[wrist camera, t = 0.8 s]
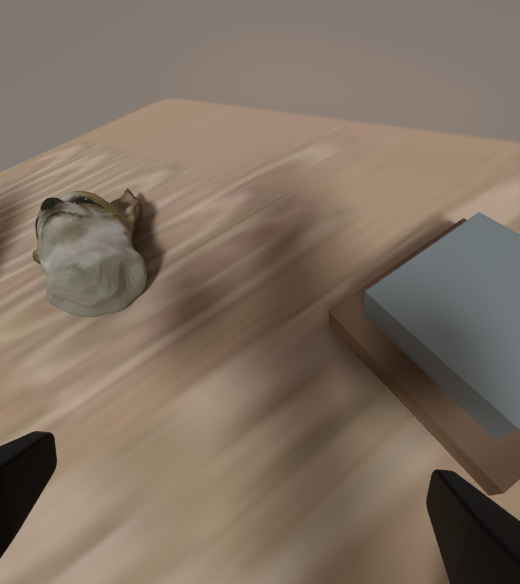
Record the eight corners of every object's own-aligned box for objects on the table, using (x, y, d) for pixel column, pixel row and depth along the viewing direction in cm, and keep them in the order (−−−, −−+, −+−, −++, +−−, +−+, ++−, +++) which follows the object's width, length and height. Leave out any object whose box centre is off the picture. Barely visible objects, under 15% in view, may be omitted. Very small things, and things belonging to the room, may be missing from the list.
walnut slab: (638, 359, 18) (674, 339, 16) (484, 496, 16) (503, 493, 14) (454, 242, 25) (463, 218, 23) (330, 329, 23) (328, 311, 21)
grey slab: (620, 334, 17) (657, 309, 15) (496, 440, 16) (518, 429, 14) (466, 240, 22) (479, 212, 20) (362, 313, 21) (364, 291, 19)
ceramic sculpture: (-38, 297, 19) (-15, 184, 28) (65, 363, 25) (55, 253, 35) (133, 214, 20) (100, 132, 30) (188, 297, 27) (147, 209, 36)
